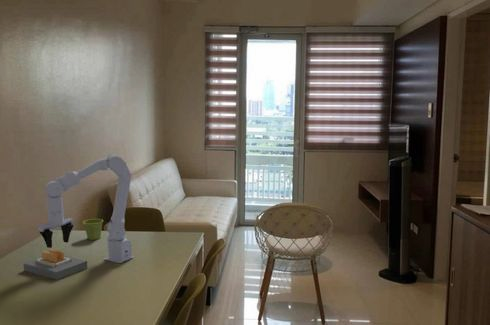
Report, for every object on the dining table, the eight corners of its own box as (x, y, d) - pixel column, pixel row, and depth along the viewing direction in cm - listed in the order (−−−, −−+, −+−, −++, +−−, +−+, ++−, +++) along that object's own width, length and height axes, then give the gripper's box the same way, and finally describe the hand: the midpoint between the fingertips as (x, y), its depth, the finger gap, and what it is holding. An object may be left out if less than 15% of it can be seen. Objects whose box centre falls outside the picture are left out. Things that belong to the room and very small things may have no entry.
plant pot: (100, 241, 210) (99, 223, 209) (80, 241, 211) (80, 223, 210) (106, 235, 220) (105, 218, 219) (88, 235, 220) (87, 219, 219)
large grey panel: (87, 268, 174) (86, 258, 173) (56, 280, 162) (56, 269, 161) (55, 260, 184) (54, 250, 183) (24, 270, 172) (23, 260, 171)
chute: (64, 261, 173) (63, 252, 172) (55, 264, 169) (54, 254, 169) (51, 258, 177) (50, 248, 176) (42, 261, 174) (41, 251, 173)
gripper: (64, 206, 181) (66, 238, 183) (32, 214, 169) (35, 248, 170) (75, 208, 177) (78, 240, 179) (44, 216, 165) (46, 250, 167)
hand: (57, 244), depth 174 cm, fingers open, 7 cm apart
